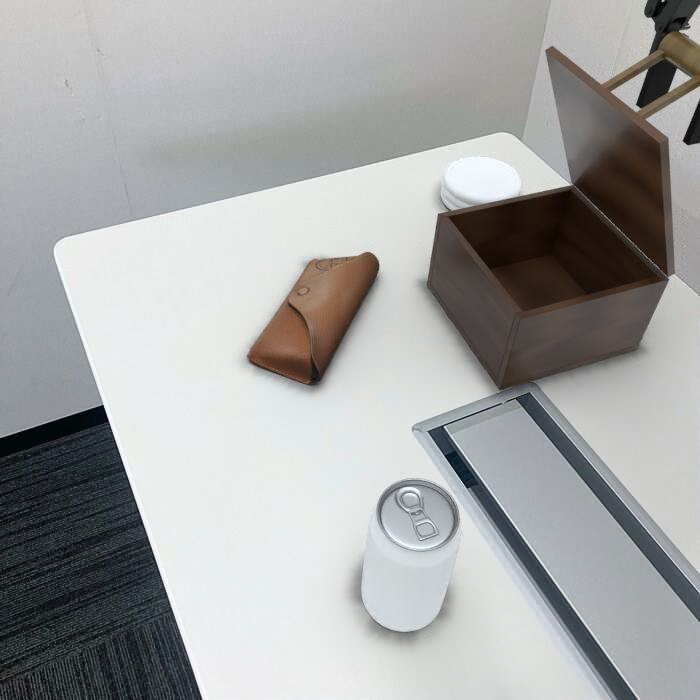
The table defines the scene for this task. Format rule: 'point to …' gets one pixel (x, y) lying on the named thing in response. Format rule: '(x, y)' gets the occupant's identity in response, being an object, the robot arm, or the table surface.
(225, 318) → the table surface
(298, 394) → the table surface
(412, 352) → the table surface
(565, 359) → the chest
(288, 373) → the sunglasses case
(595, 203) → the lid
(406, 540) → the can
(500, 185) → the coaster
